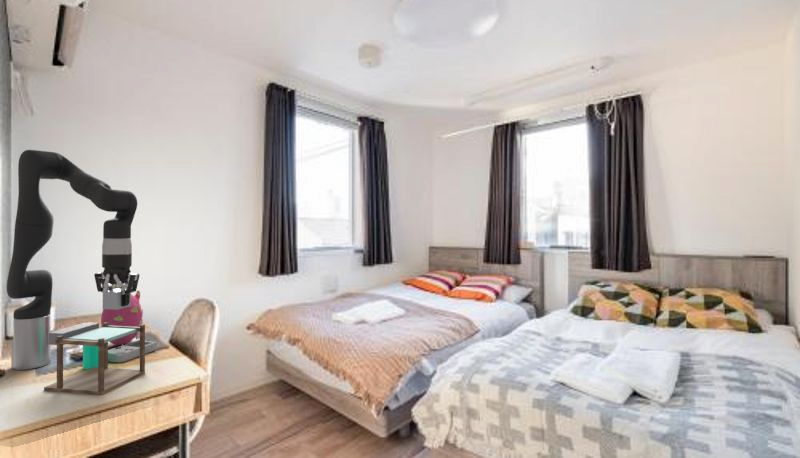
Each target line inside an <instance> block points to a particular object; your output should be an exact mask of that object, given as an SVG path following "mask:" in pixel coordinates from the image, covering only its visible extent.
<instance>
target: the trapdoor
mask: <svg viewBox="0 0 800 458" xmlns="http://www.w3.org/2000/svg"><path fill="white" fill-rule="evenodd" d="M97 328H99V329H97ZM93 329H96V330H93ZM90 330H93V331H90ZM87 331H90V332H87ZM84 332H86V333H84ZM135 332H136V329H127V328H110V327H103V328H100V323H99V322H88V321H87V322H83V323H79V324H75V325H72V326H67V327H64V328H61V329H57V330H54V331H51V332H50V333H49V345H52V346H57V344H55V340H56V339H57V336H63V339H64V338H67V337H70V336H73V337H70V338H68V339H74V340H91V341H98V339H100V338H104V343H107V342H108V343H110V342H109V341H112V340H115V339H118V338H121V337H124V336H126V335H129V334H132V333H135ZM80 333H83V334H80ZM77 334H80V335H77ZM74 335H76V336H74ZM65 345H66V344H63V346H65Z"/></svg>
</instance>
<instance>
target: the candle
mask: <svg viewBox="0 0 800 458" xmlns="http://www.w3.org/2000/svg"><path fill="white" fill-rule="evenodd" d="M92 367H98V346H86V345H82V369H84V370H87V369H90V368H92Z"/></svg>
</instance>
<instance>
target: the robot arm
mask: <svg viewBox="0 0 800 458" xmlns="http://www.w3.org/2000/svg"><path fill="white" fill-rule="evenodd" d="M17 166H18V167H17V169H18V171H17V175H18V177H17V178H18V179H17V180H18V195H17V197H18V198H17V206H16V207H17V209H16V216H15V221H14V234H13V245H12V246H13V248H12V253H11V254H12V255H11V256H12V257H11V261H10V265H9V269H8V275H7V280H6V293H7V297H9V298H10V299H12V300H13V299H15V300H19V299H26V298H27V299H28V298H34V299H33V300H31V302H29V303H27V304H25V305H23V306H20V307H18V308H16V309H14V311H13V318H12V319H13V325H12V326H13V339H11V343H10V346H11V352H10V355H11V356H10V357H11V362H10V364H11V368H13V370H17V371H22V370H23V371H25V370H31V369H36V368H39V367H40V368H41V367H43V366H46V365H48V364H50V363H51V350H52V349H51V345H49V333H50V332H52V331H51V309H52V297H53V276H52V274H51V272H50V271H49V270H48V269H36V270H33V269H32V270H27V269H28V267H29V264H30V262H31V260H32V259H33V258H34V256H35V255H36V254H37V253H38V252H39V251H40V250H42V248H43V247H45V246H46V244H47V243H49V241H50V240H51V238H52V236H53V230H54V223H55V219H54V215H53V213H52V211H51V209H50V207H48V205H47V203H46V202H45V200H44V199H43V196H42V195H41V190H40V189H41V187H40V183H41V180H60V181H64V182H67V183H69V185H70V188H71V189H72V190H73V191H74V192H75V193H76V194H78V195H80V196H81V197H83V198H86V199H87V200H90V201H91V203H92V204H94V206H96V207H97V208H98V209H99V210H102V211H105V212H108V213H110V212H112V213H113V212H114V213H116V214H115V216H114V218H111V219H108V220H106V221H105V220H104V222H103V228H102V229H103V231H102V234H103V235H102V236H103V237H102V239H103V240H102V245H101V250H102V251H101V267H102V268H104V269H103V271H102V272H96V273H94V279H95V285H96V290H97V292H100V293H103V291H108V290H113V288H114V286H116V285H117V286H118V288H120V290H121V293H122V295H121V306H128V304H129V303H130V293H131V294H132V293H135V292H137V289H138V285H139V284H138V283H139V280H140V273H133V272H131V267H132V264H133V263H132V260H133V259H132V258H133V256H132V253H133V251H132V245H133V244H132V228H131V226H132V223H133V220H134V217H135V216H136V215H135V214H136V212H137V209H138V200H137V199H138V198H137V196H136V195H135V194H134V192H132V191H130V190H123V189H112V187H111V186H110V184H109V183H107V182H105V181H103V180H102V179H99V178H97V177H95V176H93V175H91V174H89V173H87V172H86V171H84V170H83V169H81V168H80V167H78V166H77V165H76V164H74V163H73V162H72V161H71V160H70V159H68V158H67V157H65V156H64V155H62V154H60V153H58V152H54V151H53V152H52V151H46V150H39V149H37V150H36V149H25V150H24V151H22V152H21V154H20V156H19V159H18V165H17ZM124 287H125V288H124ZM125 289H126V290H125Z"/></svg>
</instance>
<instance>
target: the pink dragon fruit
mask: <svg viewBox="0 0 800 458" xmlns="http://www.w3.org/2000/svg"><path fill="white" fill-rule="evenodd" d="M124 288H125V287H124ZM113 289H120V288H118V286H117V285H116V286H114V288H113ZM135 292H136V293H135V295H133V294H131V295H130V306H129V307H125V308H122V309H118V310H113V309H103V308H102V312H101V317H100V318H101V319H100V325H101V326H102V325H103V323H105V322H107V323H108V325H114V326H132V327H140V325H142V324H143V321H144V320H143V315H144V312H143V311H144V310H143V309H144V308H143V309H142V306H141V304H140V299H141V291H140V290H136V291H135ZM101 326H100V327H101ZM133 339H135V340H139V339H140V331H136V332H135V333H132V334H129V335H126V336H124V337H121V338H118V339H115V340H112V341H109V342H108V343H110V344H112V345H114V346H117V345H121V346H122V344H125V345H126V343H127V344H129V343H131V341H132V342H133Z"/></svg>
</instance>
